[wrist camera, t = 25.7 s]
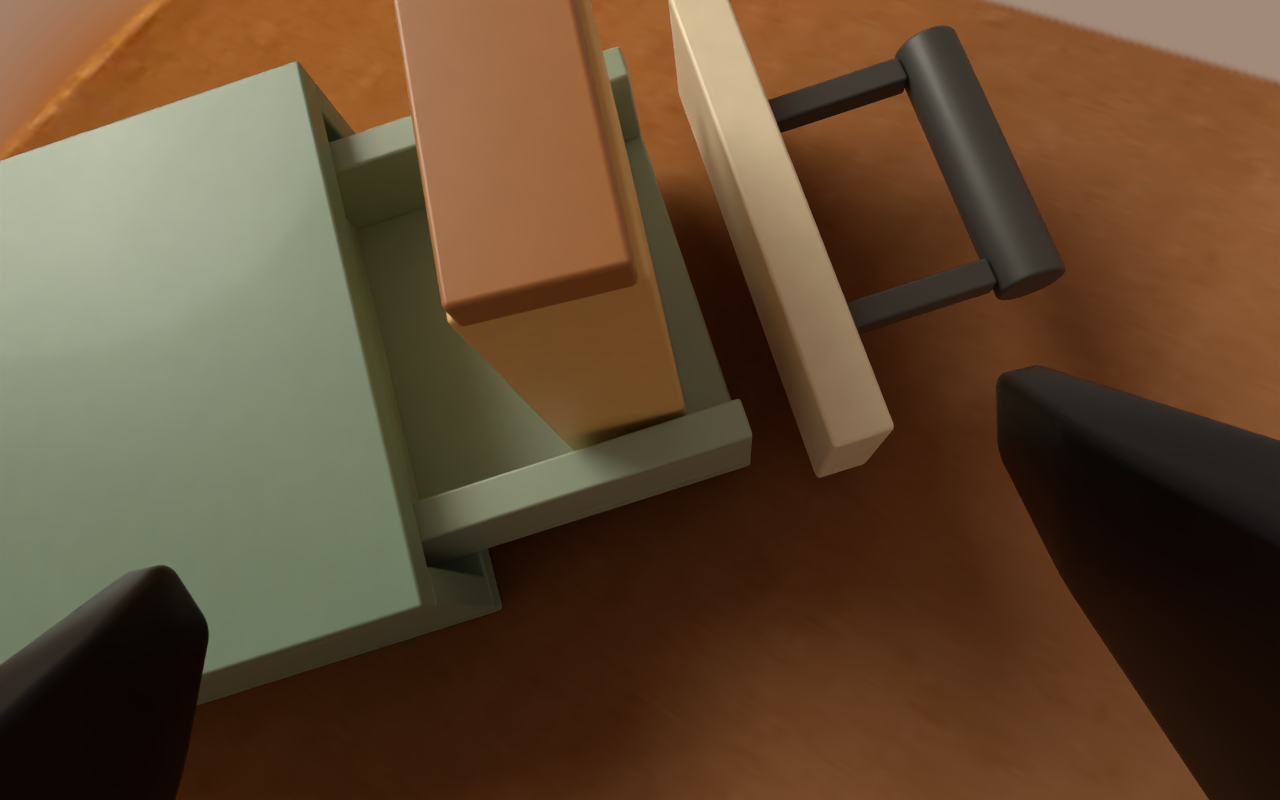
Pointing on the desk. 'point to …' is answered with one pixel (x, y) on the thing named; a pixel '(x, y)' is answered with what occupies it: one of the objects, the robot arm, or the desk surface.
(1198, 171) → the desk surface
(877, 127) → the desk surface
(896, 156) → the desk surface
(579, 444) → the tan flat block
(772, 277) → the drawer
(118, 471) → the cabinet
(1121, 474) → the robot arm
